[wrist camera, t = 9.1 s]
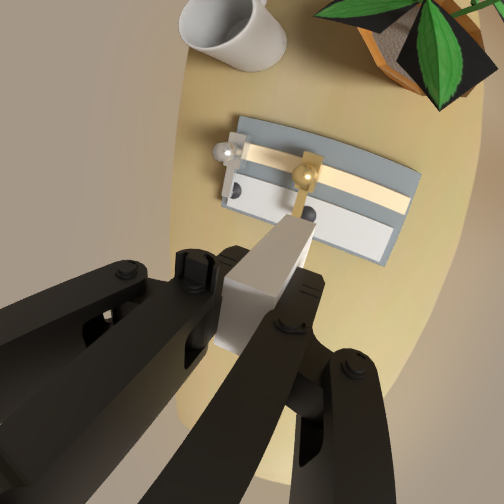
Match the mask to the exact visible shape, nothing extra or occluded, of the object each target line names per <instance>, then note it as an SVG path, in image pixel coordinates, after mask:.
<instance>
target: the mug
mask: <svg viewBox="0 0 504 504" xmlns="http://www.w3.org/2000/svg"><path fill="white" fill-rule="evenodd" d="M266 3H267V0H189V1H188V3H187V4H186V5H185V7H184V8H183V10H182V12H181V14H180V17H179V23H178V30H179V34H180V37H181V38H182V40H183V41H184V42H185V43H186V44H187V45H188V46H190V47H191V48H193V49H195V50H198V51H200V52H202V53H205V54H207V55H209V56H212V57H214V58H216V59H218V60H220V61H222V62H225V63H227V64H229V65H230V66H232V67H234V68H236V69H238V70H241V71H245V72H259V71H263V70H266V69H268V68H270V67H272V66H273V65H275V64H276V63H277V62H278V61H279V60H280V59H281V58H282V56H283V55H284V53H285V50H286V47H287V36H286V33H285V31H284V29H283V28H282V26H281V25H280V24H279V23H278V22H277V20H276V19H275V18H274V17H273V16H272V15H271V14H270V12H269V11H268V10H267V9H266V8H265V5H266Z"/></svg>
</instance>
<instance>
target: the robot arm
mask: <svg viewBox="0 0 504 504" xmlns="http://www.w3.org/2000/svg"><path fill="white" fill-rule="evenodd" d="M316 225H317V224H316V223H313V222H310V221H307V220H304V219H301V218H298V217H295V216H292V215H289V214H286V215H285V216H284V217H283V218H282V219H281V220H280V221H279V222H278V223H277V224H276V225H275V226H274V227H273V228H272V229H271V230H270V231H269V232H268V233H267V234H266V235H265V236H264V237H263V238H262V239H261V240H260V241H259V242H258V243H257V244H256V245H255V246H254V247H253V248H252V249H251V250H248V249H245V248H243V247H240V246H237V245H235V246H232V247H229V248H226V249H225V250H223V251H222V252H221V253H220V254H219V255H217V256H215V255H214V254H212V253H210V252H208V251H204V250H201V249H184V250H181V251H178V252H176V260H175V277H174V278H173V279H171V280H170V281H169V282H166V281H160V280H155V279H151V278H148V274H147V268H146V267H145V266H144V265H143V264H142V263H139V262H138V261H133V260H121V261H117V262H114V263H111V264H109V265H106V266H104V267H101V268H98V269H96V270H93V271H91V272H88V273H86V274H83V275H80V276H78V277H76V278H73V279H70V280H68V281H65V282H63V283H60V284H58V285H56V286H53V287H51V288H48V289H46V290H43V291H41V292H39V293H37V294H34V295H32V296H29V297H27V298H25V299H22V300H20V301H18V302H15V303H13V304H11V305H8V306H6V307H4V308H2V309H0V424H1V423H2V424H1V425H0V504H85V503H86V502H87V501H88V500H89V498H90V497H91V496H92V495H93V494H94V493H95V491H96V490H97V489H98V488H99V486H101V484H102V483H103V482H104V481H105V480H106V478H107V477H108V476H109V475H110V474H111V473H112V471H113V470H114V469H115V468H116V467H117V465H118V464H119V463H120V462H121V461H122V459H123V458H124V457H125V455H126V454H127V453H128V452H129V451H130V449H131V448H132V447H133V446H134V445H135V443H136V442H137V441H138V440H139V438H140V437H141V436H142V435H143V434H144V432H145V431H146V430H147V429H148V427H149V426H150V425H151V424H152V422H153V421H154V420H155V419H156V417H157V416H158V414H160V412H161V411H162V410H163V408H164V407H165V406H166V405H167V404H168V402H169V401H170V400H171V398H172V397H173V396H174V395H175V393H176V392H177V391H178V389H179V388H180V387H181V386H182V384H183V383H184V382H185V380H186V379H187V378H188V377H189V375H190V374H191V373H192V371H193V370H194V369H195V368H196V366H197V365H198V364H199V362H200V361H201V360H202V358H203V357H204V356H205V354H206V352H207V350H208V343H209V341H210V340H211V338H212V337H213V336H214V334H215V339H214V344H215V345H217V346H219V347H222V348H224V349H226V350H228V351H230V352H233V353H235V354H237V355H240V356H239V358H238V360H237V361H236V363H235V364H234V366H233V368H232V369H231V371H230V372H229V374H228V375H227V377H226V378H225V380H224V382H223V383H222V385H221V386H220V388H219V389H218V391H217V392H216V394H215V395H214V397H213V398H212V400H211V401H210V403H209V404H208V406H207V407H206V409H205V410H204V412H203V413H202V415H201V416H200V418H199V419H198V421H197V422H196V424H195V425H194V427H193V428H192V430H191V431H190V433H189V434H188V435H187V437H186V438H185V440H184V441H183V443H182V444H181V446H180V447H179V448H178V450H177V451H176V453H175V454H174V455H173V457H172V458H171V460H170V461H169V462H168V464H167V465H166V466H165V468H164V469H163V471H162V472H161V474H160V475H159V476H158V478H157V479H156V480H155V481H154V483H153V484H152V485H151V487H150V488H149V489H148V491H147V492H146V493H145V495H144V496H143V497H142V499H141V500H140V501H139V503H138V504H239V503H240V501H241V499H242V497H243V495H244V494H245V491H246V490H247V488H248V486H249V484H250V482H251V480H252V478H253V476H254V474H255V472H256V470H257V468H258V465H259V463H260V461H261V459H262V457H263V455H264V453H265V450H266V448H267V446H268V444H269V442H270V439H271V437H272V435H273V432H274V430H275V428H276V425H277V423H278V421H279V418H280V416H281V414H282V411H283V409H284V406H285V405H286V406H287V407H289V408H290V409H292V410H293V411H294V412H296V413H297V415H296V429H295V443H294V456H293V468H292V479H291V490H290V499H289V504H396V491H395V480H394V469H393V461H392V452H391V445H390V438H389V431H388V425H387V419H386V413H385V407H384V402H383V397H382V391H381V387H380V382H379V377H378V372H377V369H376V367H375V364H374V362H373V361H372V360H371V359H370V358H369V357H368V356H367V355H365V354H364V353H362V352H361V351H358V350H355V349H351V348H343V349H340V350H337V351H335V352H332V351H331V350H329V349H327V348H326V347H325V346H323V345H322V344H321V343H320V342H319V341H318V340H317V339H316V337H315V335H314V333H313V329H312V326H313V321H314V318H315V315H316V312H317V309H318V306H319V302H320V299H321V296H322V292H323V289H324V286H325V282H324V279H323V277H322V275H320V274H317V273H314V272H312V271H309V270H306V269H303V266H304V263H305V260H306V257H307V253H308V250H309V247H310V244H311V241H312V238H313V234H314V231H315V228H316ZM108 310H111V316H112V317H111V318H109V319H104V316H103V313H104V312H106V311H108Z"/></svg>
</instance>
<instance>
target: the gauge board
mask: <svg viewBox="0 0 504 504" xmlns="http://www.w3.org/2000/svg"><path fill="white" fill-rule="evenodd" d="M236 132H239V133H243V134H248V135H252V139H251V143H250V148H249V152H248V157H247V161H246V166H245V168H243V169H239V170H238V169H237V172H236V176H235V181H234V186H233V188H234V189H235V193H234V194H232V196H231V197H230V198H227V197H224V196H223V199H222V204H221V207H224V208H227V209H230V210H233V211H236V212H239V213H242V214H244V215H247V216H250V217H253V218H256V219H259V220H261V221H264V222H267V223H270V224H273V225H276V224H277V223H278V222H279V221H280V220H281V219H282V218H283V217H284V216H285V215H286V214H289V215H291V214H292V211H293V207H294V204H295V200H296V197H297V193H298V190H299V189H298V188H295V187H294V186H295V183H294V181H293V179H292V171H293V170H294V168H295V167H297V166H299V165H301V161H302V157H303V154H304V151H310V152H313V153H316V154H319V155H322V156H325V158H324V161H323V165H322V168H321V172H320V175H319V179H318V182H317V185H316V189H315V191H314V192H313V193H310V192H308V196H307V199H306V202H305V206H304V209H303V212H302V213H303V214H302V216H301V219H304V220H307V221H310V222H313V223H316V224H317V225H316V228H315V231H314V234H313V238H312V239H314V240H316V241H319V242H322V243H324V244H327V245H329V246H332V247H335V248H337V249H340V250H343V251H345V252H348V253H350V254H353V255H355V256H358V257H360V258H363V259H366V260H368V261H371V262H373V263H376V264H378V265H381V266H383V267H385V265H386V262H387V260H388V258H389V256H390V254H391V251H392V249H393V247H394V245H395V242H396V240H397V238H398V235H399V233H400V231H401V228H402V226H403V223H404V221H405V218H406V216H407V213H408V211H409V208H410V205H411V203H412V200H413V197H414V194H415V192H416V189H417V186H418V183H419V180H420V177H421V173H419V172H417V171H414V170H412V169H410V168H407V167H405V166H403V165H400V164H398V163H396V162H393V161H391V160H388V159H386V158H383V157H381V156H378V155H376V154H373V153H370V152H368V151H365V150H362V149H359V148H357V147H354V146H351V145H348V144H345V143H342V142H339V141H336V140H333V139H330V138H326V137H323V136H320V135H317V134H313V133H310V132H306V131H303V130H299V129H295V128H292V127H288V126H284V125H280V124H276V123H272V122H267V121H263V120H258V119H254V118H249V117H244V116H240V118H239V122H238V127H237V131H236Z"/></svg>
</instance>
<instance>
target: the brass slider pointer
mask: <svg viewBox="0 0 504 504" xmlns="http://www.w3.org/2000/svg"><path fill="white" fill-rule="evenodd" d="M324 158H325V156H322V155H319V154H316V153H313V152H310V151H304V154H303V157H302V161H301V165H299V166H297V167H295V168H294V170H293V171H292V179H293V181H294V183H295V186H294V187H295V188H298V189H299V190H298V193H297V197H296V200H295V204H294V207H293V211H292V214H291V215H292V216H295V217H298V218H301V216H302V214H303V213H302V212H303V209H304V206H305V202H306V199H307V196H308V192H310V193H313V192H314V191H315V189H316V185H317V182H318V179H319V175H320V172H321V168H322V165H323V161H324Z"/></svg>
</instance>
